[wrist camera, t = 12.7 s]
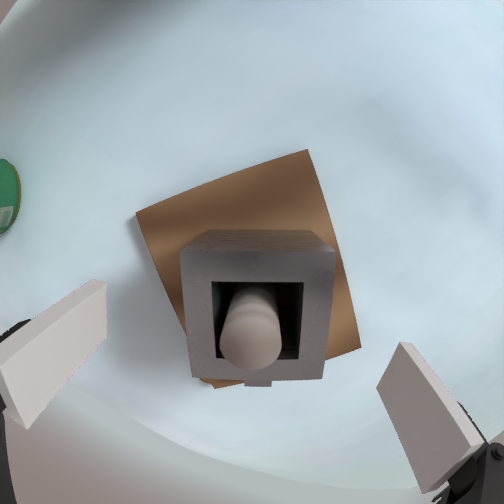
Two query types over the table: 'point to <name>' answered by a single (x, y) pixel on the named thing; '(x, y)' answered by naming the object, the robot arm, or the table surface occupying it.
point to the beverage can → (8, 195)
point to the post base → (251, 217)
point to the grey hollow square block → (259, 270)
